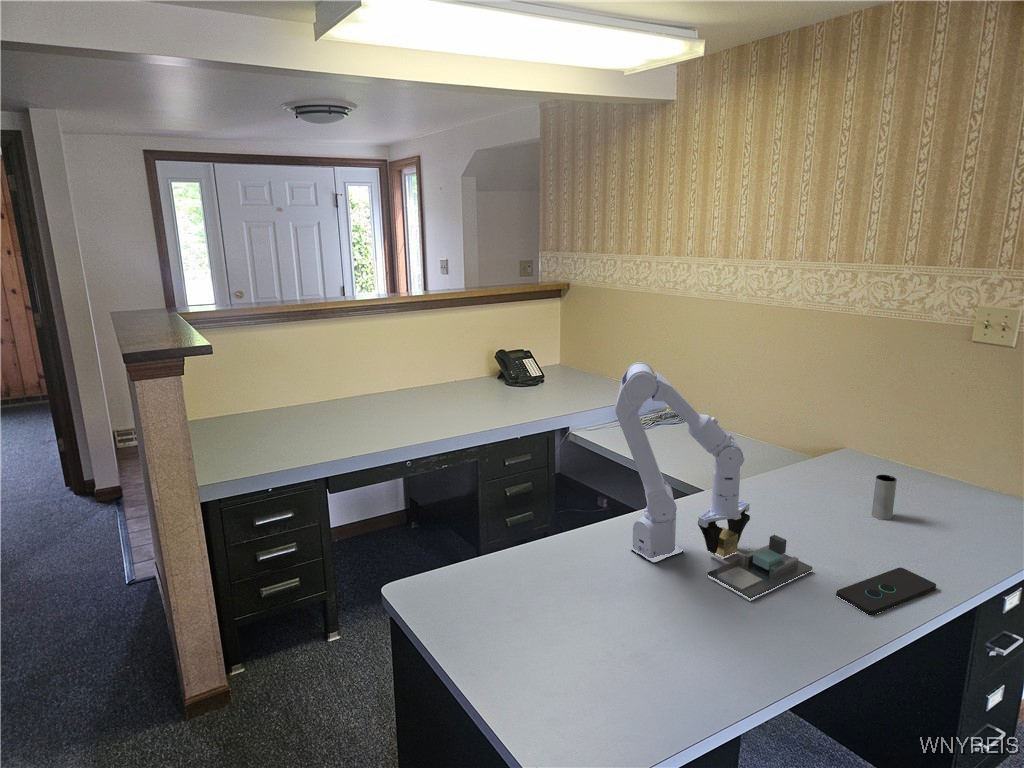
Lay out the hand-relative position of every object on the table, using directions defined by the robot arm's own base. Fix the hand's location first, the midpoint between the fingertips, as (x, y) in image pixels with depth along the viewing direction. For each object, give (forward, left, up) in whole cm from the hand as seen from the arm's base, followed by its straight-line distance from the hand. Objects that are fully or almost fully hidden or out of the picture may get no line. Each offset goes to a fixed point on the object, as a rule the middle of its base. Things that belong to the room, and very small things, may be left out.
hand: (722, 547), depth 149 cm
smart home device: (+14, -30, -2) cm, 33 cm away
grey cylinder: (+47, -10, -2) cm, 48 cm away
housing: (0, 0, -2) cm, 2 cm away
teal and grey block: (+2, -11, +1) cm, 11 cm away
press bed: (-1, -11, -1) cm, 11 cm away
